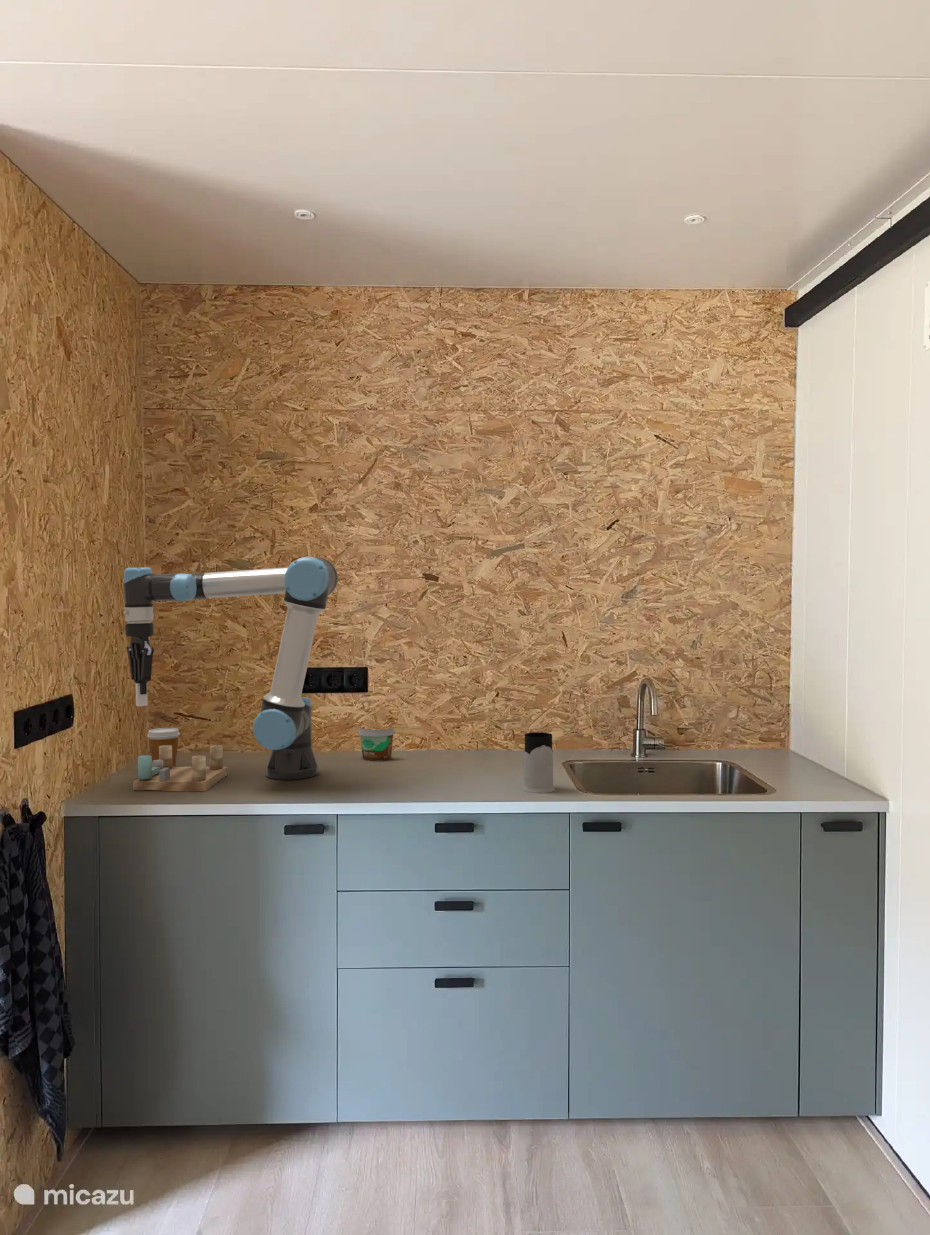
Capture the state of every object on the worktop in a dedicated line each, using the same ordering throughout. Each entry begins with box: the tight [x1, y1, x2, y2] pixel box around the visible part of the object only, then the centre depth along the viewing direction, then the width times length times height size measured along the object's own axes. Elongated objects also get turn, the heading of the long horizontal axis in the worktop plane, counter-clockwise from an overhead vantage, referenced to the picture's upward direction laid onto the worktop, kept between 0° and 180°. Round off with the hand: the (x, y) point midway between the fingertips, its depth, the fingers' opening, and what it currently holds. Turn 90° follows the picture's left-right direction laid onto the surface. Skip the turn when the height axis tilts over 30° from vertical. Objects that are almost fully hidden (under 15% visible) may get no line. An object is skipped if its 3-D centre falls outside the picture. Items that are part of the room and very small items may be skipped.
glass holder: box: [522, 731, 556, 794], centre depth 250 cm, size 9×14×15 cm, turn 16°
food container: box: [357, 725, 396, 762], centre depth 290 cm, size 12×6×10 cm, turn 73°
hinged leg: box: [137, 754, 163, 780], centre depth 256 cm, size 12×4×6 cm, turn 176°
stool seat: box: [132, 744, 229, 792], centre depth 259 cm, size 20×20×9 cm
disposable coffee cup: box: [147, 727, 181, 767], centre depth 277 cm, size 10×10×12 cm
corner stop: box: [159, 768, 170, 782], centre depth 251 cm, size 2×4×3 cm, turn 177°
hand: (141, 705), depth 257 cm, fingers closed
